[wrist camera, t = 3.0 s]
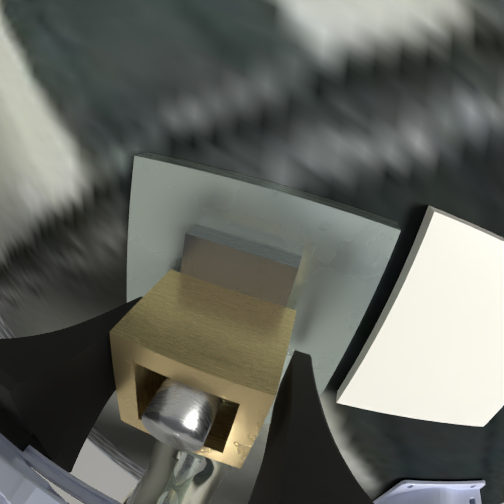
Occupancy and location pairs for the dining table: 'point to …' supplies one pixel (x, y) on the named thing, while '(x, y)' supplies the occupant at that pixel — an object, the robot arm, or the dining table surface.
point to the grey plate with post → (251, 266)
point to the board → (438, 331)
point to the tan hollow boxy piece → (203, 356)
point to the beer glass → (177, 478)
